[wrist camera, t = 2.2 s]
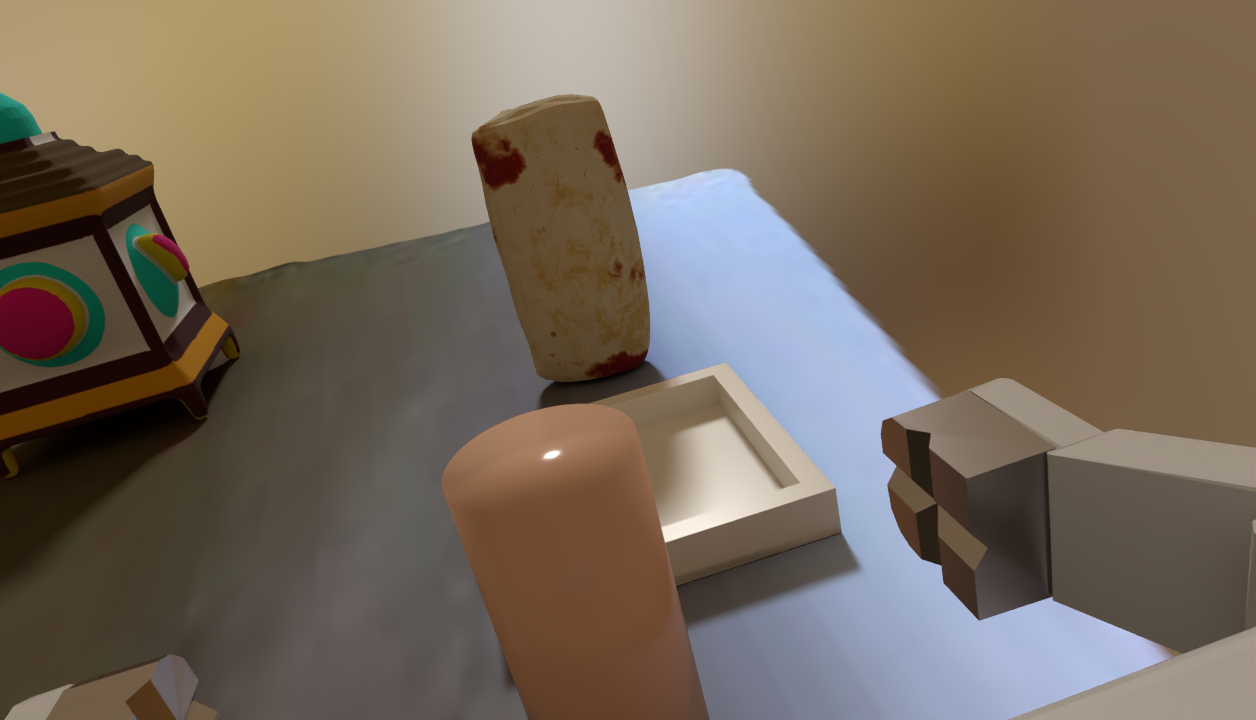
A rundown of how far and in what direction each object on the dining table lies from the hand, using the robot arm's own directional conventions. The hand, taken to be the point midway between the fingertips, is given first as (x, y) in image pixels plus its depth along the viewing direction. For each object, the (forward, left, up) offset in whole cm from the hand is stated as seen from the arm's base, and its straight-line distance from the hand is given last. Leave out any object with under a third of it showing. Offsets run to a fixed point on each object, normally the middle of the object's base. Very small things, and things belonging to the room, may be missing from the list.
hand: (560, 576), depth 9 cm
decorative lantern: (-37, +70, -19) cm, 82 cm away
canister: (0, +12, -19) cm, 23 cm away
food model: (+5, +48, -19) cm, 52 cm away
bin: (+4, +30, -19) cm, 36 cm away
